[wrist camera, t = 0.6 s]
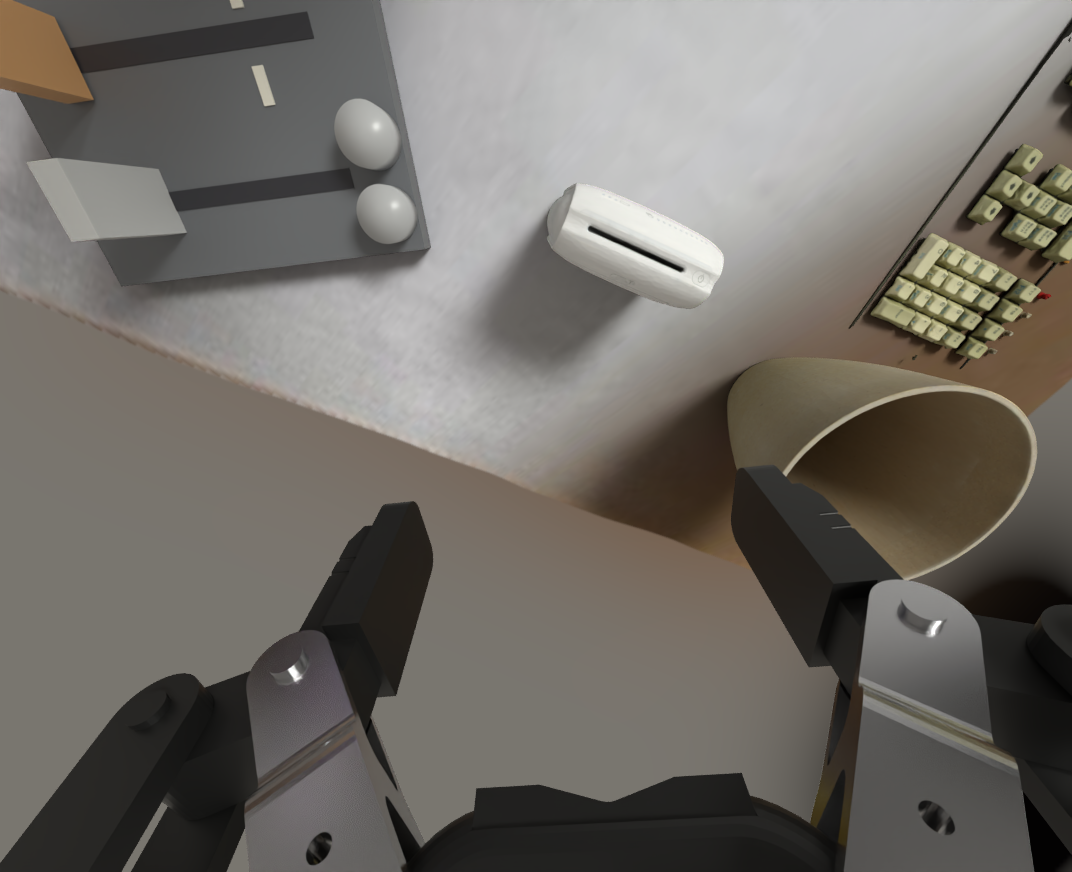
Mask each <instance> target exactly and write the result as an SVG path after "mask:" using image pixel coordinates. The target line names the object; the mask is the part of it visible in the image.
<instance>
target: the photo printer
mask: <svg viewBox="0 0 1072 872" xmlns="http://www.w3.org/2000/svg"><path fill="white" fill-rule="evenodd" d="M547 228H548V232H549V235H548V237H547V241H548V242H549V244H550V246H551V248H552V250H554V251H555V252H556V253H557V254H558V255H560V256H561V257H563V258H564V259H565V260H566V261H568V262H570V263H572V264H573V265H575V266H577V267H579V268H581V269H583V270H585V271H587V272H589V273H591V274H593V275H595V276H597V277H600V278H602V279H604V280H606V281H608V282H610V283H613V284H615V285H617V286H619V287H622V288H624V289H626V290H628V291H631V292H633V293H636V294H638V295H640V296H643V297H646V298H648V299H650V300H653V301H656V302H659V303H662V304H666V305H669V306H673V307H678V308H685V309H692V308H695V307H697V306H699V305H700V304H701V303H703V302H704V301H705V300H706V299H707V298H708V297H709V295H710V293H711V290H712V288H713V286H714V284H715V282H716V281H717V280H718V278H719V277H720V275H721V272H722V268H723V254H722V252H721V251H720V250H719V249H718V247H716V246H715V245H714V244H713V243H712V242H711V241H709V240H708V239H706V238H705V237H703V236H701V235H700V234H698V233H696V232H695V231H693V230H691V229H689V228H687V227H685V226H684V225H682V224H680V223H678V222H676V221H674V220H672V219H670V218H668V217H666V216H664V215H662V214H660V213H657V212H655V211H653V210H651V209H649V208H647V207H645V206H643V205H640V204H638V203H636V202H634V201H631V200H629V199H627V198H624V197H622V196H619V195H617V194H615V193H612V192H610V191H607V190H605V189H602V188H599V187H596V186H592V185H587V184H581V183H576V184H574V185H572V186H570V187H569V188H567V189H566V190H565V191H564V194H563V196H562V197H560V198H559V199H558V200H557V201H556V202H555V203H554V204H553V206H552V207H551V209H550V211H549V214H548V218H547Z"/></svg>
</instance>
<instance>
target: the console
mask: <svg viewBox="0 0 1072 872" xmlns="http://www.w3.org/2000/svg"><path fill="white" fill-rule="evenodd" d="M13 1H16V2H18V3H21V4H23V5H26V6H28V7H31V8H33V9H36V10H38V11H41V12H43V13H46V14H48V15H51V16H53V17H55V19H56V21H57V23H58V26H59V28H60V30H61V32H62V34H63V36H64V38H65V40H66V42H67V44H68V46H69V49H70V51H71V53H72V55H73V57H74V59H75V61H76V63H77V65H78V67H79V70H80V72H81V74H82V76H83V78H84V80H85V82H86V84H87V86H88V88H89V91H90V93H91V95H92V97H93V99H94V100H91V101H84V102H77V103H70V104H66V103H62V102H57V101H53V100H49V99H44V98H40V97H35V96H31V95H27V94H22V93H18V92H17V94H18V96H19V98H20V100H21V102H22V103H23V105H24V107H25V109H26V111H27V113H28V115H29V116H30V118H31V120H32V122H33V124H34V126H35V127H36V129H37V131H38V133H39V135H40V137H41V139H42V140H43V142H44V144H45V146H46V148H47V150H48V151H49V153H50V155H51V157H52V159H45V160H38V161H31V162H26V163H27V165H28V167H29V168H30V170H31V172H32V174H33V175H34V177H35V179H36V181H37V182H38V184H39V186H40V188H41V189H42V191H43V193H44V195H45V196H46V198H47V200H48V202H49V204H50V205H51V207H52V209H53V211H54V212H55V214H56V216H57V218H58V219H59V221H60V223H61V225H62V226H63V228H64V230H65V232H66V233H67V235H68V237H69V239H70V240H71V242H80V241H95V240H97V242H98V244H99V246H100V248H101V249H102V251H103V253H104V255H105V257H106V259H107V260H108V262H109V264H110V266H111V268H112V270H113V272H114V273H115V275H116V277H117V279H118V281H119V283H120V284H121V286H129V285H137V284H145V283H153V282H161V281H170V280H178V279H186V278H194V277H202V276H211V275H219V274H227V273H235V272H243V271H251V270H260V269H268V268H276V267H284V266H292V265H301V264H309V263H317V262H325V261H333V260H342V259H350V258H358V257H366V256H374V255H382V254H391V253H399V252H407V251H415V250H423V249H427V248H430V247H431V245H430V240H429V235H428V230H427V226H426V221H425V216H424V211H423V206H422V202H421V197H420V192H419V187H418V182H417V177H416V173H415V168H414V163H413V158H412V153H411V149H410V144H409V139H408V134H407V129H406V124H405V120H404V115H403V110H402V105H401V100H400V96H399V91H398V86H397V81H396V76H395V71H394V67H393V62H392V57H391V52H390V47H389V43H388V38H387V33H386V28H385V23H384V18H383V14H382V9H381V4H380V0H13Z"/></svg>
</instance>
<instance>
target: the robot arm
mask: <svg viewBox="0 0 1072 872" xmlns="http://www.w3.org/2000/svg"><path fill="white" fill-rule="evenodd" d="M731 525H732V531H733V535H734V538H735V540H736V542H737V544H738V546H739V548H740V549H741V551H742V553H743V555H744V556H745V558H746V560H747V561H748V563H749V565H750V567H751V568H752V570H753V572H754V574H755V575H756V577H757V579H758V580H759V582H760V584H761V586H762V587H763V589H764V591H765V592H766V594H767V596H768V598H769V599H770V601H771V603H772V605H773V606H774V608H775V610H776V611H777V613H778V615H779V616H780V618H781V620H782V622H783V624H784V625H785V627H786V628H787V630H788V632H789V634H790V635H791V637H792V639H793V641H794V643H795V644H796V646H797V648H798V649H799V651H800V653H801V655H802V656H803V658H804V660H805V661H806V663H807V665H808V666H809V667H819V666H832V667H833V669H834V671H835V673H836V674H837V676H838V677H839V680H838V683H837V686H836V690H835V697H834V703H833V709H832V715H831V721H830V727H829V733H828V739H827V745H826V751H825V757H824V763H823V769H822V774H821V780H820V784H819V788H818V791H817V795H816V799H815V802H814V807H813V811H812V815H811V820H810V823H808V822H807V821H805V820H804V819H802V818H801V817H799V816H797V815H796V814H794V813H792V812H790V811H788V810H786V809H784V808H782V807H780V806H778V805H776V804H773V803H770V802H768V801H766V800H763V799H760V798H757V797H753V796H750V795H749V792H748V790H747V787H746V784H745V781H744V778H743V776H742V773H733V774H716V775H699V776H682V777H673V778H671V779H668V780H666V781H663V782H661V783H658V784H656V785H653V786H651V787H648V788H646V789H643V790H641V791H638V792H636V793H633V794H631V795H628V796H626V797H623V798H621V799H618V800H616V801H613V802H603V801H598V800H595V799H591V798H587V797H584V796H580V795H576V794H572V793H568V792H564V791H561V790H557V789H553V788H550V787H546V786H542V785H528V786H513V787H512V786H511V787H493V788H478V789H476V798H475V807H474V811H472V812H470V813H467V814H465V815H463V816H462V817H460V818H458V819H456V820H454V821H453V822H451V823H450V824H448V825H447V826H446V827H444V828H443V829H442V830H440V831H439V832H438V833H436V834H435V835H434V836H433V837H432V838H431V839H430V840H429V841H428V842H427V843H425V842H424V839H423V837H422V835H421V832H420V830H419V828H418V826H417V824H416V822H415V819H414V818H413V815H412V813H411V811H410V809H409V807H408V805H407V803H406V800H405V798H404V796H403V793H402V791H401V788H400V785H399V783H398V780H397V778H396V775H395V773H394V770H393V767H392V765H391V762H390V760H389V757H388V755H387V752H386V749H385V747H384V744H383V742H382V739H381V737H380V734H379V731H378V729H377V727H376V724H375V722H374V719H373V718H372V715H371V714H372V711H373V708H374V704H375V701H376V698H377V697H387V696H396V694H397V690H398V687H399V684H400V680H401V677H402V673H403V669H404V666H405V663H406V659H407V656H408V652H409V648H410V645H411V641H412V638H413V635H414V630H415V628H416V624H417V620H418V617H419V613H420V610H421V606H422V603H423V600H424V596H425V592H426V589H427V586H428V582H429V578H430V575H431V571H432V567H433V552H432V547H431V543H430V540H429V537H428V534H427V531H426V528H425V525H424V522H423V519H422V516H421V513H420V510H419V507H418V505H417V504H416V503H415V502H414V501H412V502H403V503H402V502H401V503H392V504H385V505H383V506H382V508H381V509H380V512H379V513H378V515H377V517H376V519H375V521H374V523H373V525H372V526H365V527H363V528H362V529H361V530H360V531H359V532H358V533H357V534H356V535H355V536H354V537H353V538H352V539H351V540H350V541H349V542H348V544H347V546H346V547H345V549H344V551H343V553H342V555H341V556H340V558H339V559H340V561H339V562H337V564H336V565H335V567H334V569H333V571H332V576H330V577H329V578H328V580H327V582H326V584H325V585H324V587H323V589H322V591H321V593H320V594H319V596H318V598H317V600H316V601H315V603H314V605H313V607H312V609H311V611H310V612H309V614H308V616H307V618H306V620H305V621H304V623H303V625H302V627H301V629H300V630H299V632H296V633H293V634H290V635H288V636H286V637H284V638H283V639H281V640H279V641H278V642H276V643H275V644H273V645H272V646H271V647H270V648H268V649H267V650H266V651H265V652H264V653H263V654H262V656H260V658H259V659H258V660H257V662H256V663H255V664H254V666H253V667H252V669H251V671H249V672H246V673H244V674H241V675H238V676H235V677H233V678H230V679H227V680H225V681H222V682H219V683H217V684H214V685H211V686H208V687H206V688H205V687H203V685H202V684H201V683H200V682H199V681H198V679H197V678H196V677H195V676H193V675H191V674H186V673H183V674H176V675H172V676H168V677H166V678H163V679H161V680H159V681H157V682H155V683H153V684H151V685H150V686H148V687H146V688H145V689H143V690H142V691H140V692H139V693H138V694H136V695H135V696H134V697H132V698H131V699H130V700H129V701H128V702H127V703H126V704H125V705H124V706H123V707H122V708H121V709H120V710H119V711H118V712H117V713H116V714H115V715H114V717H113V718H112V719H111V720H110V721H109V723H108V724H107V725H106V727H105V728H104V729H103V731H102V732H101V733H100V735H99V736H98V737H97V739H96V740H95V741H94V742H93V744H92V745H91V746H90V747H89V749H88V750H87V751H86V753H85V754H84V755H83V757H82V758H81V759H80V760H79V762H78V763H77V764H76V766H75V767H74V768H73V769H72V771H71V772H70V773H69V775H68V776H67V777H66V779H65V780H64V781H63V783H62V784H61V785H60V786H59V788H58V789H57V790H56V792H55V793H54V794H53V795H52V797H51V798H50V799H49V801H48V802H47V803H46V804H45V806H44V807H43V808H42V810H41V811H40V812H39V814H38V815H37V816H36V817H35V819H34V820H33V821H32V823H31V824H30V825H29V827H28V828H27V829H26V830H25V832H24V833H23V834H22V836H21V837H20V838H19V840H18V841H17V842H16V843H15V845H14V846H13V847H12V849H11V850H10V851H9V853H8V854H7V855H6V856H5V858H4V859H3V860H2V862H1V863H0V872H122V870H123V868H124V866H125V864H126V862H127V861H128V859H129V857H130V856H131V854H132V852H133V851H134V849H135V847H136V846H137V844H138V842H139V840H140V838H141V837H142V835H143V833H144V832H145V830H146V828H147V827H148V825H149V823H150V821H151V820H152V818H153V816H154V814H155V813H156V811H157V809H158V808H159V806H160V804H161V802H163V803H165V804H166V805H167V806H168V807H167V809H166V811H165V813H164V814H163V816H162V818H161V820H160V821H159V823H158V825H157V827H156V828H155V830H154V832H153V834H152V836H151V838H150V839H149V841H148V843H147V844H146V846H145V848H144V850H143V851H142V853H141V855H140V857H139V858H138V861H137V862H136V864H135V866H134V868H133V869H132V871H131V872H226V871H227V869H228V867H229V864H230V862H231V860H232V857H233V855H234V853H235V850H236V848H237V845H238V843H239V841H240V838H241V836H242V834H243V831H244V829H246V840H247V851H248V861H249V872H1034V869H1033V862H1032V855H1031V849H1030V842H1029V835H1028V828H1027V821H1026V815H1025V808H1024V802H1023V794H1022V790H1023V791H1024V792H1025V794H1026V795H1027V797H1028V798H1029V799H1030V801H1031V802H1032V803H1033V804H1034V806H1035V807H1036V808H1037V809H1038V811H1039V812H1040V814H1041V815H1042V816H1043V817H1044V819H1045V820H1046V821H1047V823H1048V824H1049V825H1050V827H1051V828H1052V829H1053V831H1055V833H1056V834H1057V836H1058V837H1059V838H1060V840H1061V841H1062V842H1063V844H1064V845H1065V846H1066V848H1067V849H1068V850H1069V851H1070V853H1071V854H1072V605H1056V606H1053V607H1049V608H1048V609H1046V610H1045V611H1044V612H1043V613H1042V615H1041V617H1040V618H1039V619H1038V621H1037V623H1036V624H1035V625H1033V624H1027V623H1020V622H1014V621H1008V620H1002V619H996V618H990V617H984V616H978V615H973V614H970V612H969V611H968V610H967V609H966V608H965V607H963V606H962V605H961V604H960V603H959V602H957V601H956V600H954V599H953V598H951V597H950V596H948V595H946V594H944V593H943V592H941V591H939V590H936V589H934V588H932V587H929V586H927V585H924V584H921V583H917V582H912V581H907V580H904V579H903V578H902V577H901V576H900V575H899V574H898V573H897V572H896V571H895V570H894V569H893V568H892V567H891V566H890V565H889V564H888V563H887V562H886V561H885V560H884V558H883V557H882V556H881V555H880V554H879V553H878V552H877V551H876V550H875V549H874V548H873V547H872V546H871V545H870V544H869V543H868V542H867V541H866V540H865V539H864V538H863V537H862V536H861V535H860V534H859V533H858V532H857V530H856V529H855V528H851V524H850V523H849V522H848V521H847V520H846V519H845V518H844V517H843V516H842V515H841V514H840V515H839V514H838V511H837V510H836V509H835V508H834V507H833V506H832V505H831V503H830V502H829V501H828V500H827V499H826V498H825V497H824V496H823V495H821V494H819V493H818V492H816V491H814V490H812V489H811V488H809V487H807V486H805V485H803V484H802V483H794V484H792V483H791V482H790V481H789V480H788V479H787V477H786V476H785V475H784V474H783V473H782V472H781V471H780V470H779V469H778V468H777V467H776V466H775V465H762V466H752V467H743V468H739V469H738V471H737V473H736V479H735V488H734V496H733V505H732V513H731Z"/></svg>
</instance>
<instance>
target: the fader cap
mask: <svg viewBox="0 0 1072 872" xmlns="http://www.w3.org/2000/svg"><path fill="white" fill-rule="evenodd" d="M0 89H5V90H9V91H13V92H18V93H22V94H27V95H31V96H35V97H40V98H44V99H49V100H53V101H57V102H62V103H66V104H70V103H77V102H84V101H91V100H94V99H93V97H92V95H91V93H90V91H89V88H88V86H87V84H86V82H85V80H84V78H83V76H82V74H81V72H80V70H79V67H78V65H77V63H76V61H75V59H74V57H73V55H72V53H71V51H70V49H69V46H68V44H67V42H66V40H65V38H64V36H63V34H62V32H61V30H60V28H59V26H58V23H57V21H56V19H55V17H53V16H51V15H48V14H46V13H43V12H41V11H38V10H36V9H33V8H31V7H28V6H26V5H23V4H21V3H18V2H16V1H13V0H0Z"/></svg>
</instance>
